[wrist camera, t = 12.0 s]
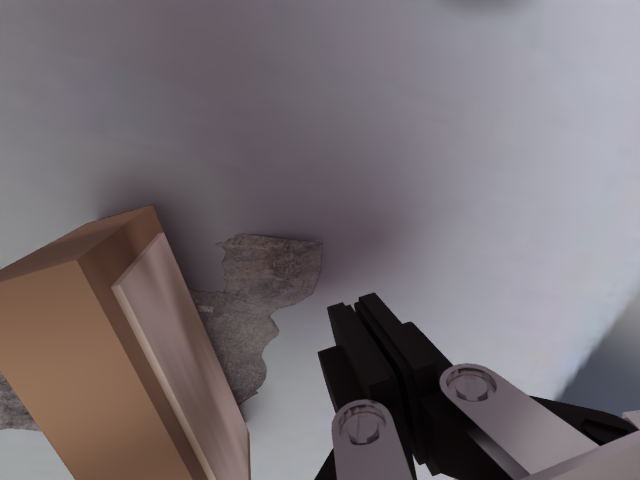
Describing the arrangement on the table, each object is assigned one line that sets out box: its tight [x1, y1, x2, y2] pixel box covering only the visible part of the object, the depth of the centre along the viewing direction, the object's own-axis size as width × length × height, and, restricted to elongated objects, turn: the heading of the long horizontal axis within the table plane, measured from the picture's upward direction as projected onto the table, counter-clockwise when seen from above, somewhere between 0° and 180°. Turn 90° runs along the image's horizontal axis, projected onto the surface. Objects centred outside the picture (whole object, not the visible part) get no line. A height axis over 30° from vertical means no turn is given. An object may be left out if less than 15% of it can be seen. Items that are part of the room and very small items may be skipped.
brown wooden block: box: [0, 205, 251, 480], centre depth 12 cm, size 12×3×6 cm, turn 14°
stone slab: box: [0, 234, 323, 431], centre depth 15 cm, size 18×2×10 cm
